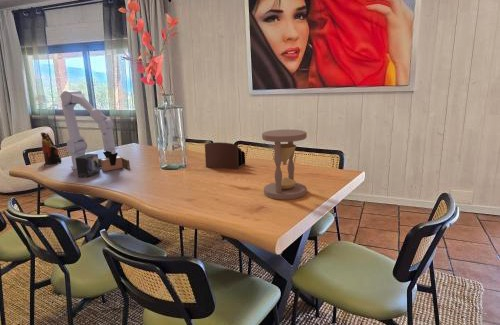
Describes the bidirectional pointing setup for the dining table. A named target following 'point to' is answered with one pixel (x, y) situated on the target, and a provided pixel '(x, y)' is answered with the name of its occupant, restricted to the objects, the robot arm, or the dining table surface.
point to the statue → (49, 150)
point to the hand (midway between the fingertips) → (111, 164)
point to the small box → (87, 165)
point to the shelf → (124, 162)
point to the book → (107, 165)
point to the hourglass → (283, 152)
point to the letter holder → (224, 156)
